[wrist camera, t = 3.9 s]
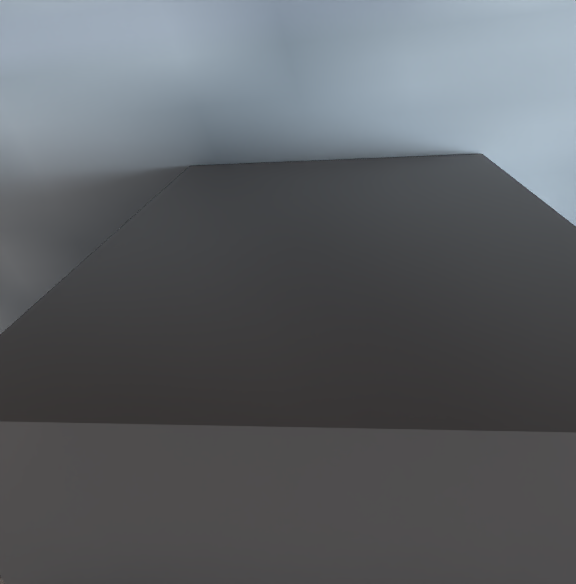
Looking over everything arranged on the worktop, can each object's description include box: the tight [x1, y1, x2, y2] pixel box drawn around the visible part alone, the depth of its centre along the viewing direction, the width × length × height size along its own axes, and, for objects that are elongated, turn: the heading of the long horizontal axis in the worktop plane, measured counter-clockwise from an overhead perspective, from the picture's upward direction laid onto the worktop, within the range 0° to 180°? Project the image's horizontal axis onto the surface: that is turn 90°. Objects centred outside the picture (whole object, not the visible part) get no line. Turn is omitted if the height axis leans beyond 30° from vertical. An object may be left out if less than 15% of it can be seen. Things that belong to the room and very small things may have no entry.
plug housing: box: [0, 154, 576, 584], centre depth 8 cm, size 12×6×8 cm, turn 3°
